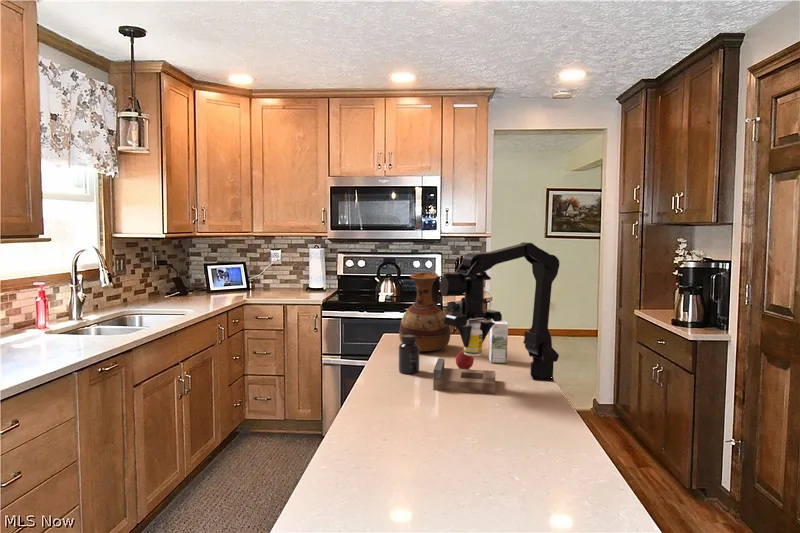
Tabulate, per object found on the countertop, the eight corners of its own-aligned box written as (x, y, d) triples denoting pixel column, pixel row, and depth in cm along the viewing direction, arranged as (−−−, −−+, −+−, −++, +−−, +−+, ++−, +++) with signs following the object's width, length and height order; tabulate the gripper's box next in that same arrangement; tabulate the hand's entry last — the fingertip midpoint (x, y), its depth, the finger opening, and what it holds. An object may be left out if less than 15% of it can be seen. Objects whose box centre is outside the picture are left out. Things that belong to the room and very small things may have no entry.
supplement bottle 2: (481, 357, 166) (482, 324, 165) (463, 355, 167) (463, 323, 166) (482, 352, 171) (483, 321, 170) (464, 351, 172) (465, 320, 171)
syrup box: (504, 359, 202) (505, 320, 200) (507, 363, 196) (508, 323, 194) (488, 359, 202) (489, 319, 200) (490, 363, 196) (491, 322, 195)
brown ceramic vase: (390, 351, 212) (392, 273, 209) (410, 341, 230) (411, 268, 228) (439, 357, 204) (441, 275, 202) (456, 346, 222) (458, 271, 220)
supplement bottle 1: (419, 369, 187) (420, 334, 186) (418, 374, 180) (419, 338, 179) (399, 368, 187) (400, 333, 186) (397, 374, 181) (397, 337, 180)
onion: (467, 375, 181) (468, 350, 180) (452, 372, 184) (452, 348, 184) (476, 371, 185) (476, 347, 185) (461, 368, 189) (461, 345, 188)
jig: (494, 380, 175) (495, 361, 175) (495, 393, 162) (495, 373, 161) (437, 376, 178) (438, 358, 178) (433, 389, 164) (433, 369, 164)
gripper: (478, 289, 179) (477, 337, 180) (433, 294, 168) (432, 344, 170) (503, 293, 170) (502, 344, 171) (457, 298, 159) (456, 352, 161)
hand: (473, 346), depth 169 cm, fingers closed on supplement bottle 2, 5 cm apart
